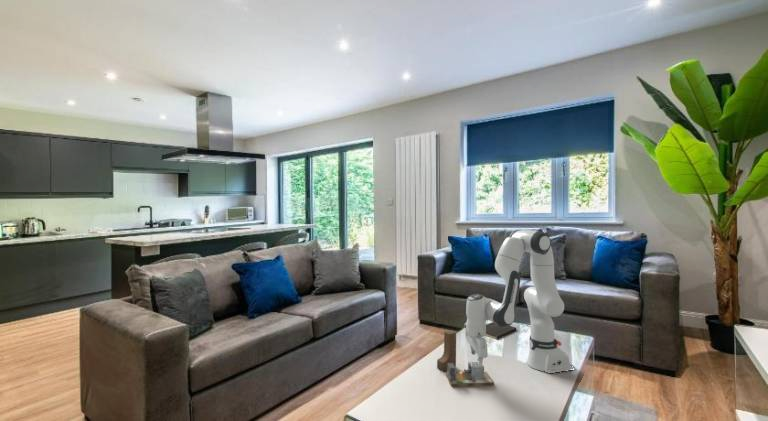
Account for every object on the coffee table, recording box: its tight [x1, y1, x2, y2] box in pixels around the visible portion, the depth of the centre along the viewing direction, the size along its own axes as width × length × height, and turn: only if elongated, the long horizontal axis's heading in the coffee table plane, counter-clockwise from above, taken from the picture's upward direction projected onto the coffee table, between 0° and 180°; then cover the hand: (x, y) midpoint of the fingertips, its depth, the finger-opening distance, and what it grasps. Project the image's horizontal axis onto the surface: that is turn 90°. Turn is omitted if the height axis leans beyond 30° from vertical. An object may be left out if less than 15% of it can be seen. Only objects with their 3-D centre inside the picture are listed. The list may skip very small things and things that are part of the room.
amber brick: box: [459, 371, 463, 382], centre depth 163 cm, size 1×2×4 cm, turn 3°
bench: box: [445, 363, 495, 388], centre depth 167 cm, size 20×10×8 cm, turn 94°
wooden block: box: [436, 329, 457, 372], centre depth 179 cm, size 9×4×18 cm, turn 122°
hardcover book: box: [485, 321, 517, 340], centre depth 228 cm, size 16×23×2 cm
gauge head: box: [463, 361, 485, 382], centre depth 166 cm, size 8×8×6 cm
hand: (476, 358), depth 167 cm, fingers open, 8 cm apart
